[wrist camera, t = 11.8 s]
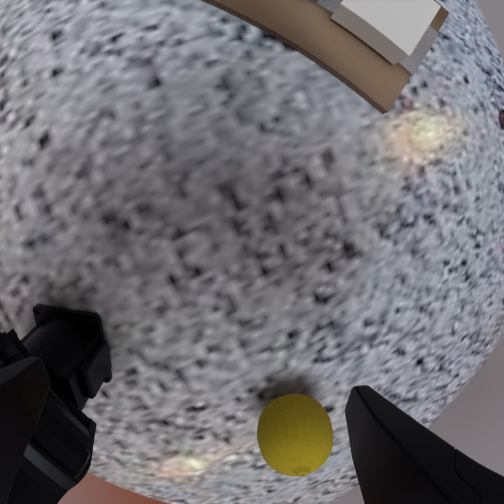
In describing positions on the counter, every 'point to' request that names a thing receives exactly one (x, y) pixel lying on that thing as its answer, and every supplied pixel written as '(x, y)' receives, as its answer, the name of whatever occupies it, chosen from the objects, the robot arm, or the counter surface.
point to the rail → (329, 3)
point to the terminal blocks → (387, 23)
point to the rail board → (328, 44)
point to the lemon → (295, 435)
